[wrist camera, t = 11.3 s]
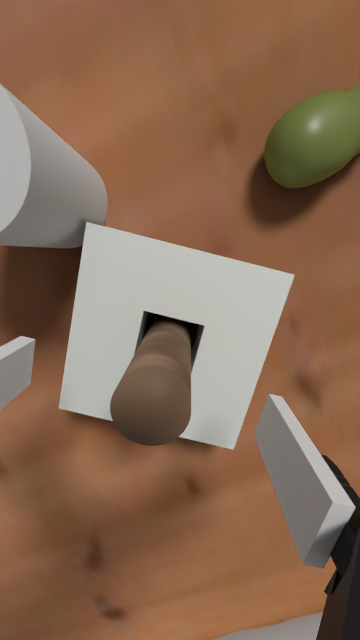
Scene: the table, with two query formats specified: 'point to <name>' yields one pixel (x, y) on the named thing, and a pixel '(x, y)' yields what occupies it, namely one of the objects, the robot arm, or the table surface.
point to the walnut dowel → (156, 385)
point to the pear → (314, 138)
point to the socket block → (176, 302)
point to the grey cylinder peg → (43, 183)
